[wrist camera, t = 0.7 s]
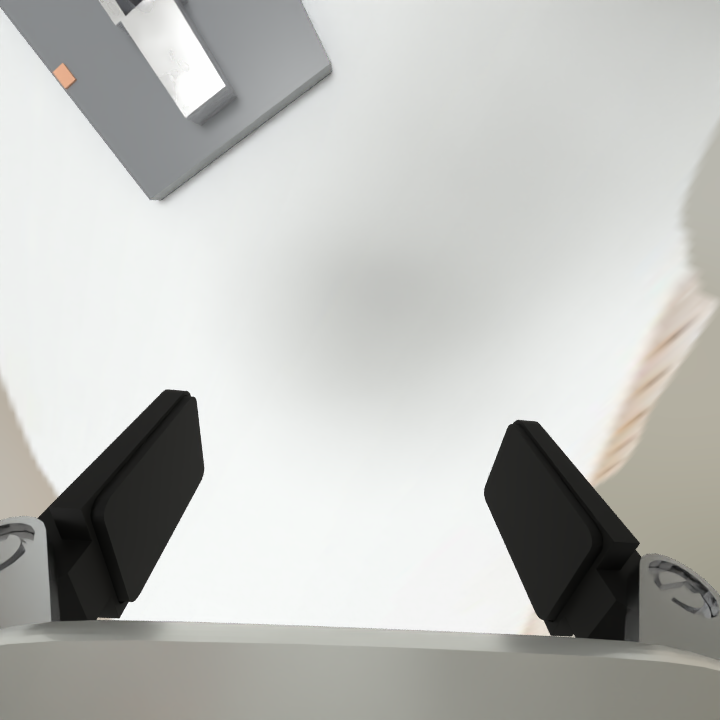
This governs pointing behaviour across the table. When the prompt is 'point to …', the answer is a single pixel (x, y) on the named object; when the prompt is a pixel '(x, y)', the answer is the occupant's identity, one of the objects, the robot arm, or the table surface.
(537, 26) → the table surface
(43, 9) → the cover plate
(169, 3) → the grey long block
